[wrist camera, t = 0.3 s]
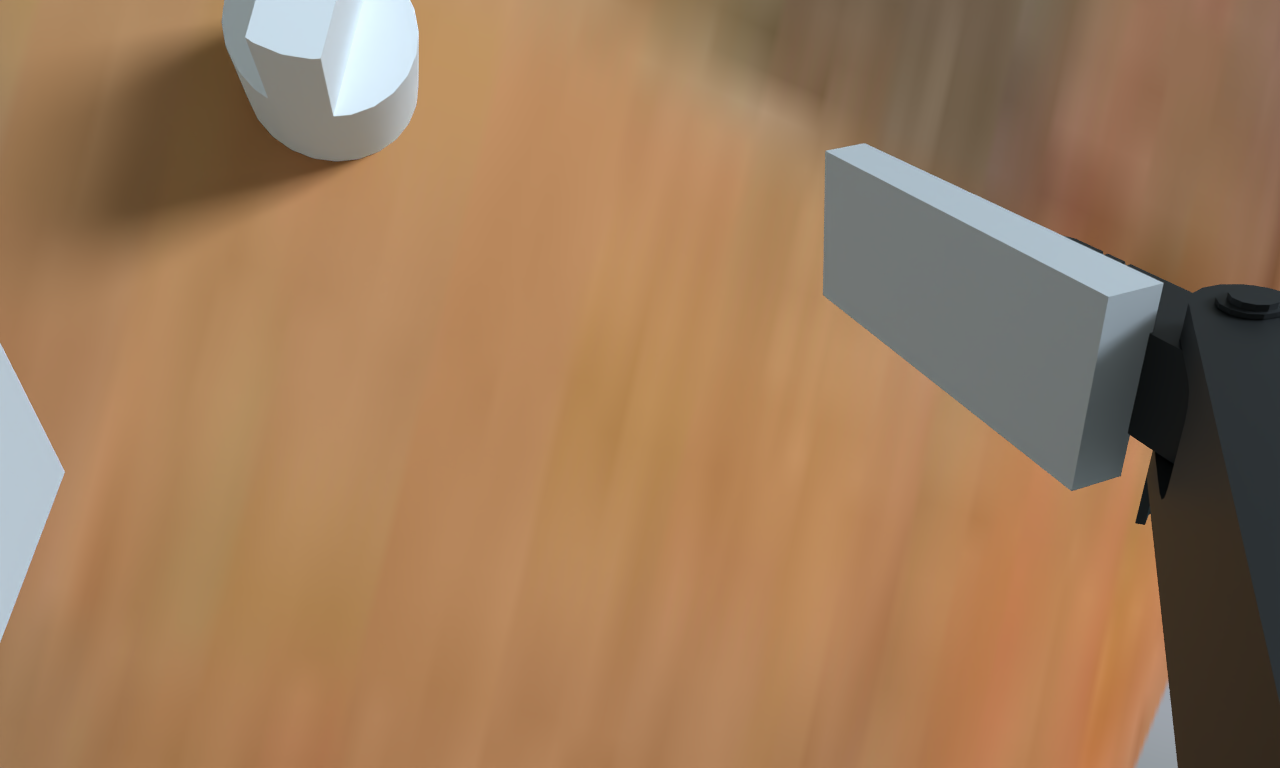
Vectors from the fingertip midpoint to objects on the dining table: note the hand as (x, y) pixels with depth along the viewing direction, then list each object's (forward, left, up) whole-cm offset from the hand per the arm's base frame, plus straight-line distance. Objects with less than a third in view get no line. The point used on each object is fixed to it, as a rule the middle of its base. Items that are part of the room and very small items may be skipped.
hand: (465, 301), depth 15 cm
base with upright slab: (+18, -8, -36) cm, 41 cm away
